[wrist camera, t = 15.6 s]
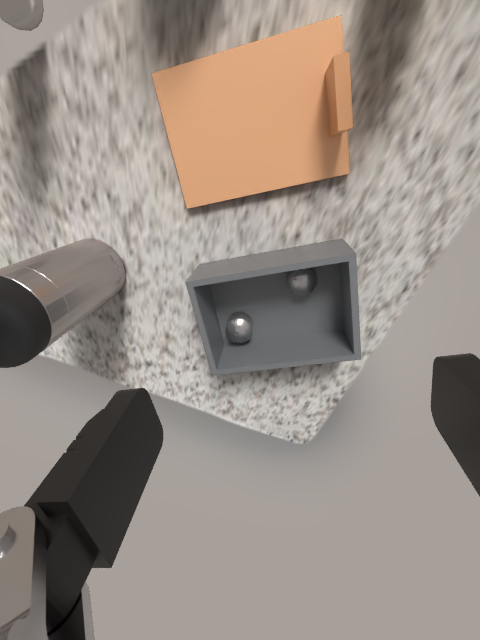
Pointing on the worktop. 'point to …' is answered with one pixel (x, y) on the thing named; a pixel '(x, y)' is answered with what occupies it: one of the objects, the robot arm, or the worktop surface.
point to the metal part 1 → (239, 327)
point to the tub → (279, 308)
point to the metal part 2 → (302, 281)
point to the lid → (260, 114)
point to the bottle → (22, 13)
